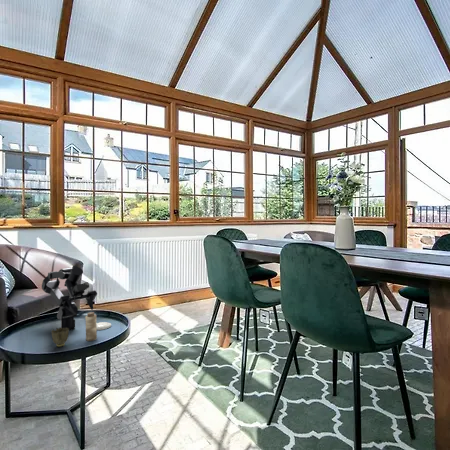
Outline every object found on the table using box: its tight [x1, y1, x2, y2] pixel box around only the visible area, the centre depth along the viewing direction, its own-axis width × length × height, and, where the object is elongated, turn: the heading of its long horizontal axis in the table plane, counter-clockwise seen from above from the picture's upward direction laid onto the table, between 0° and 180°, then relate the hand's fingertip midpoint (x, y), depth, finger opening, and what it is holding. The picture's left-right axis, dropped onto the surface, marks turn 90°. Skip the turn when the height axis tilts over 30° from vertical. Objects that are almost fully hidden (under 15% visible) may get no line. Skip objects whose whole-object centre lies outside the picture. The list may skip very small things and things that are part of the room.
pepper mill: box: [85, 311, 98, 342], centre depth 165 cm, size 5×5×13 cm
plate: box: [96, 321, 112, 331], centre depth 185 cm, size 11×11×1 cm
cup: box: [51, 326, 70, 348], centre depth 156 cm, size 8×7×8 cm
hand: (84, 311), depth 170 cm, fingers open, 9 cm apart
